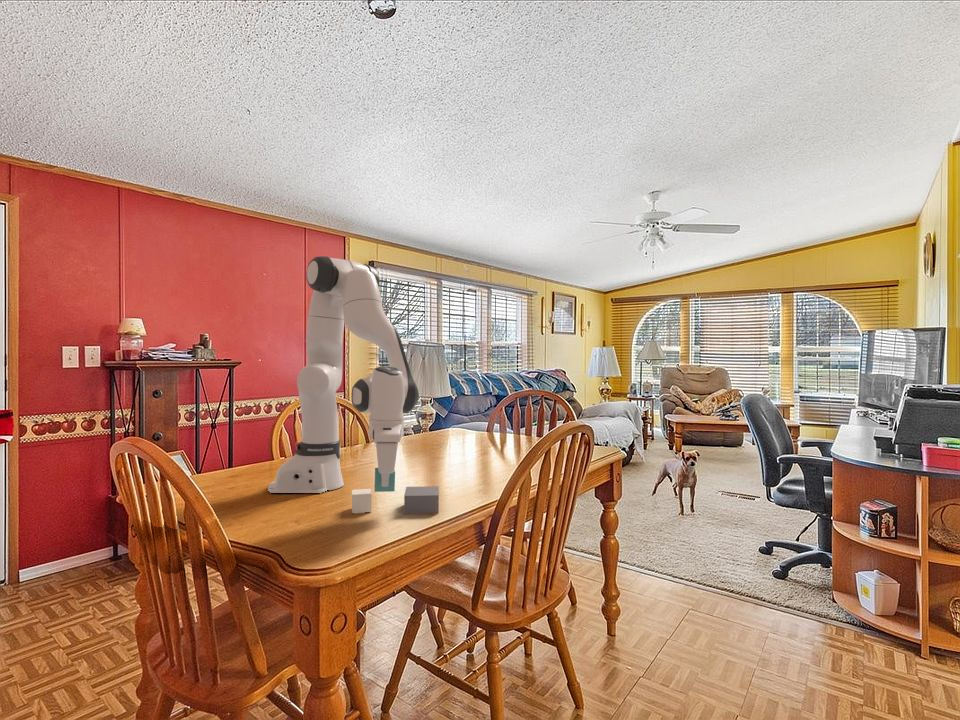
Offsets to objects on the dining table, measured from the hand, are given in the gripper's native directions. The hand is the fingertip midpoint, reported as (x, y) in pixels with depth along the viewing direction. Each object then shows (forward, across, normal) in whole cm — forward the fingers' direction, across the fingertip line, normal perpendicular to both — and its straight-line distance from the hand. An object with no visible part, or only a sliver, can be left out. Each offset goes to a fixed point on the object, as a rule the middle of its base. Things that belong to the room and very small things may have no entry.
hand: (384, 482), depth 138 cm
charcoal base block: (+8, -4, +10) cm, 14 cm away
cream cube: (+9, -6, -6) cm, 12 cm away
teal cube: (+2, 0, 0) cm, 2 cm away
